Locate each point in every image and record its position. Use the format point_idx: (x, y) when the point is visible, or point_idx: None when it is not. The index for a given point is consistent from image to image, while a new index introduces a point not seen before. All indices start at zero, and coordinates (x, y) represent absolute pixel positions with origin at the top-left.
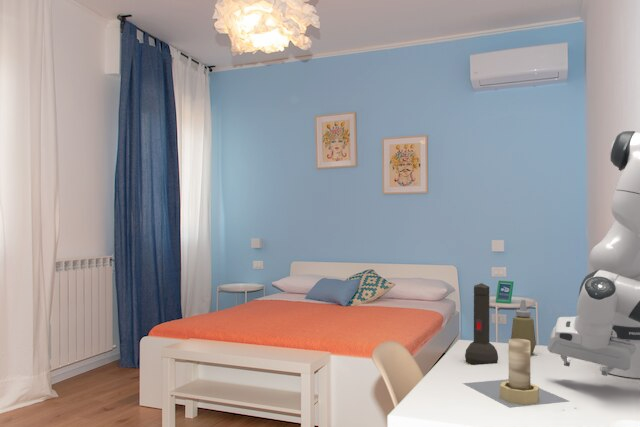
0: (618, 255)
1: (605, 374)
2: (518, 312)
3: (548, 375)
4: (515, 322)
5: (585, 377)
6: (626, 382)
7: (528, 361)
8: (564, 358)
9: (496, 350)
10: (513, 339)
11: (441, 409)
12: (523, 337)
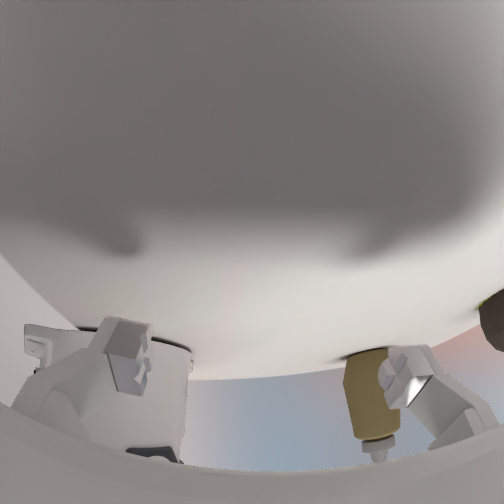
0: None
1: (114, 327)
2: (393, 444)
3: (420, 279)
4: (398, 420)
5: (249, 306)
6: (71, 302)
7: None
8: (460, 399)
9: (496, 337)
10: None
11: None
12: (384, 392)
